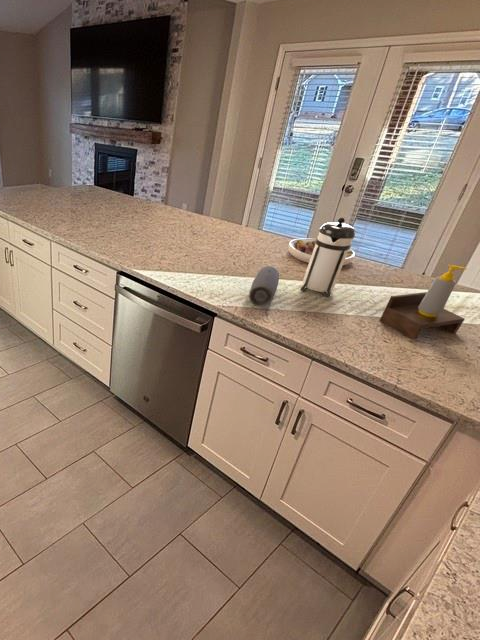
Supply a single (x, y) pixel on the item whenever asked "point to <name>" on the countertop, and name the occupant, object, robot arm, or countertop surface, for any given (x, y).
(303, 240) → the bowl
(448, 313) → the shelf
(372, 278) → the countertop surface
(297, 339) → the countertop surface
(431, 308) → the soap bottle
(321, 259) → the coffee press
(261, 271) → the bluetooth speaker
